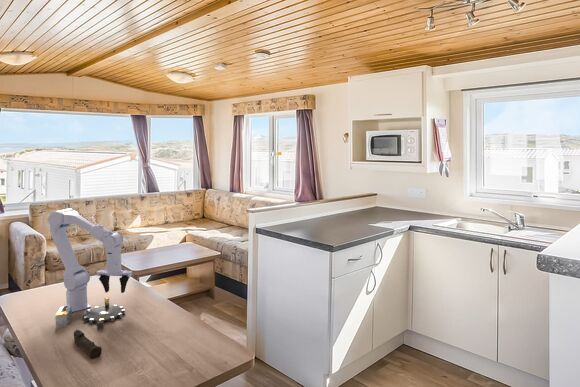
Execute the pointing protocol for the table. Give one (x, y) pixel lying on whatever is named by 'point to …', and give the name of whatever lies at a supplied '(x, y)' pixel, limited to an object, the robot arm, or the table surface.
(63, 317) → the knob box
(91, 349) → the dark brown bar
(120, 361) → the table surface
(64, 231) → the robot arm
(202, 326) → the table surface
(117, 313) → the sprocket
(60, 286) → the table surface
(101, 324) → the index pointer
